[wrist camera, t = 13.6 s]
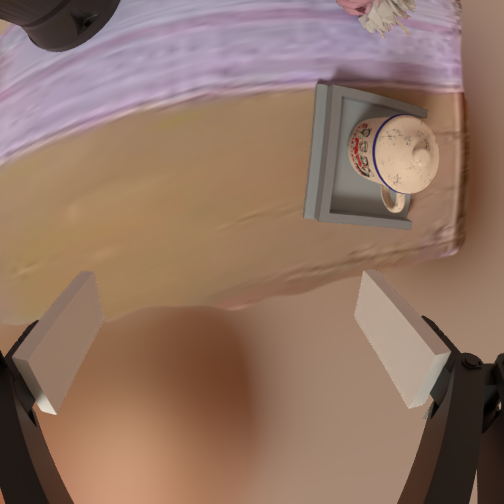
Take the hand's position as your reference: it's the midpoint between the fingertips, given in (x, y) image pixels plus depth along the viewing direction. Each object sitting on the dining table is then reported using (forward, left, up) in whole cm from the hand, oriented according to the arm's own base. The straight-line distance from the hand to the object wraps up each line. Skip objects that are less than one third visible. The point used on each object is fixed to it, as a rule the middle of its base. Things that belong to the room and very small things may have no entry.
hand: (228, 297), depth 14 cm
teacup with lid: (-7, +19, -26) cm, 33 cm away
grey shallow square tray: (-7, +18, -27) cm, 33 cm away
